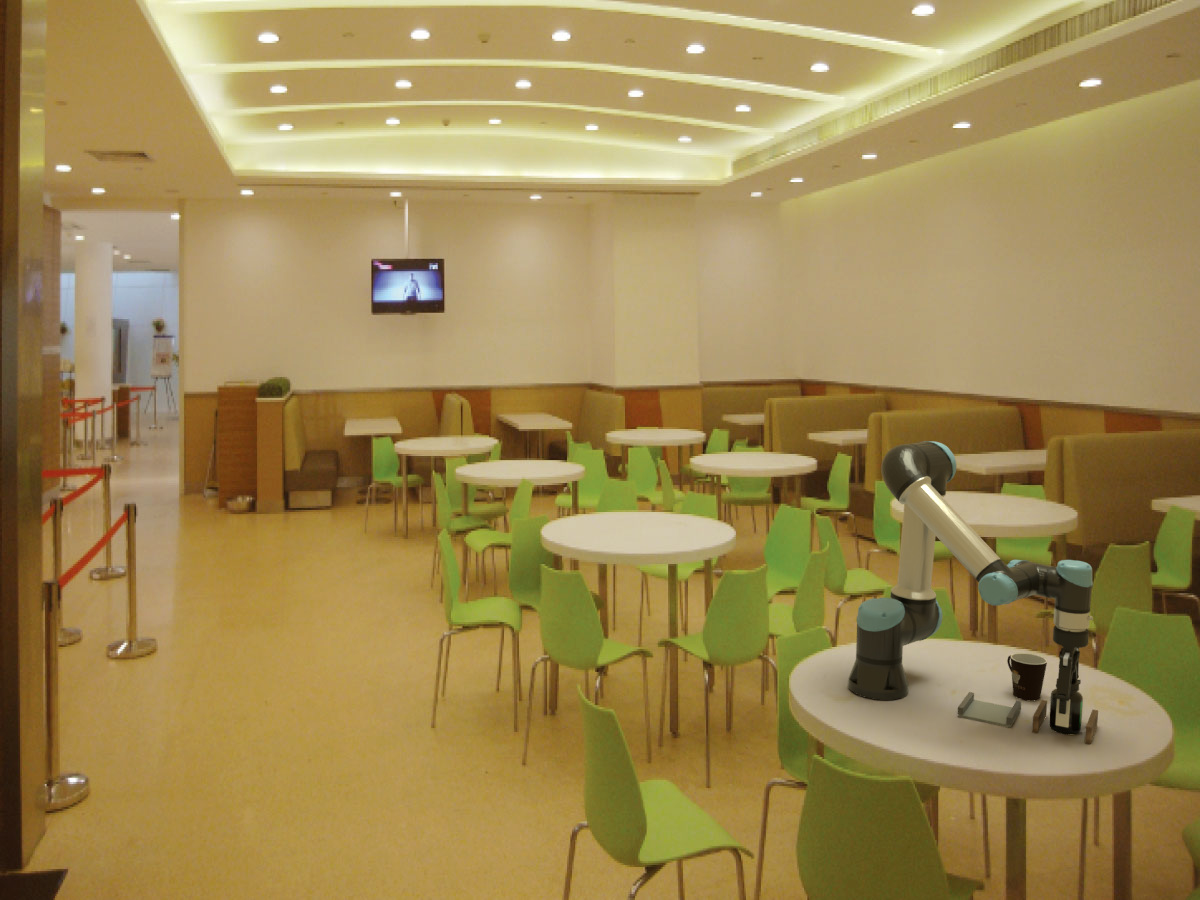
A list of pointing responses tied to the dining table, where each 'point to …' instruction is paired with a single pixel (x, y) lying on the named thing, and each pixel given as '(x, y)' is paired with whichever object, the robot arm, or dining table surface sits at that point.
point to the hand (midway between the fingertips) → (1065, 717)
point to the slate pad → (988, 711)
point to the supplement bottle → (1075, 710)
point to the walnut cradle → (1041, 714)
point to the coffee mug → (1027, 675)
